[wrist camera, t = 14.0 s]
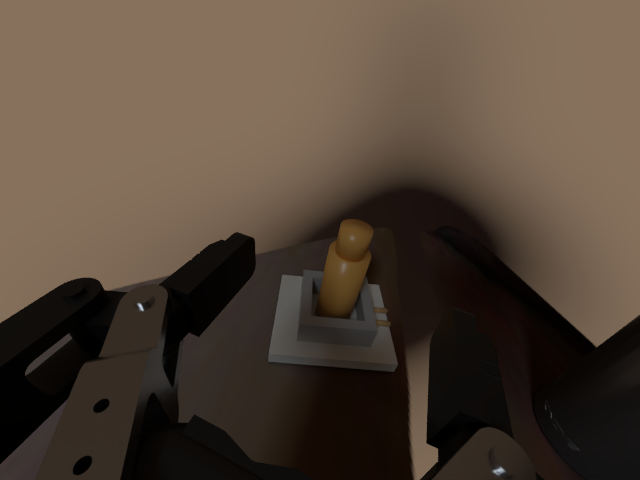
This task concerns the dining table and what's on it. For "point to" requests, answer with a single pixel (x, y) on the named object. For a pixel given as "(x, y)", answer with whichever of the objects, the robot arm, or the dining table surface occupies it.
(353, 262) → the stepped amber cylinder
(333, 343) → the hollow square frame plate
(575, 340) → the dining table surface
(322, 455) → the dining table surface
